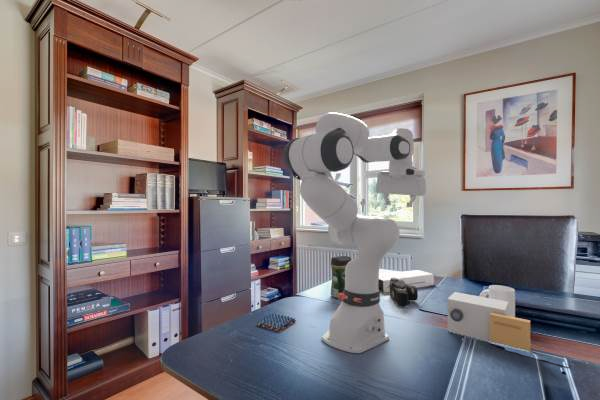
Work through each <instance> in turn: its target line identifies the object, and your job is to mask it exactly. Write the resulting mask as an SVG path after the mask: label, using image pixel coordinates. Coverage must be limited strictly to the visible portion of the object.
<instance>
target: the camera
mask: <svg viewBox="0 0 600 400" xmlns="http://www.w3.org/2000/svg"><path fill="white" fill-rule="evenodd" d="M418 294H419V293H418V288H416V287H415V286H412V285H406V284H405V282H404V281H403V280H402V279H396V278H391V280H390V292H389V297H390V298H391V299H392V300H393V302H394V303H395V305H397V307H399V308H402V309H404V308H407V306H408V305H409V302H413V301H417V300H418V298H419V297H418V296H419V295H418Z"/></svg>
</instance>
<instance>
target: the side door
mask: <svg viewBox="0 0 600 400" xmlns="http://www.w3.org/2000/svg"><path fill="white" fill-rule="evenodd" d="M490 341H491V342H495V343H500V344H504V345H508V346H511V347H515V348H520V349H524V350H528V351H530V352H531V320H529V319H524V318H521V317H520V318H519V317H516V316H515V317H511V316H506V315H502V314H497V313H492V312H491V313H490Z"/></svg>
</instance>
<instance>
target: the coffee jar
mask: <svg viewBox="0 0 600 400" xmlns="http://www.w3.org/2000/svg"><path fill="white" fill-rule="evenodd" d="M330 259H331V260H330V267H331V285H330V287H331V288H330V296H331V297H333V298H334V299H338V295H339V293H342V294H343V291H344V288H345V267H346V265H347V263H348V262H349V261H351V260H352V258H351V256H347V255H341V256H340V255H339V256H333V257H331V258H330Z"/></svg>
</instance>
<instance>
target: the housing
mask: <svg viewBox="0 0 600 400" xmlns="http://www.w3.org/2000/svg"><path fill="white" fill-rule="evenodd" d="M446 300H447V305H446V306H447V307H446V308H447V313H446V314H447V315H446V316H447V317H446V318H447V325H446V327H447V330H446V331H447V332H448V331H449V332H448V333H451V332H453V333H452V334H455V333H457V334H456V335H459V334H461V335H460V336H463V335H465V336H464V337H466V336H470V337H475V338H480V339H483V340H489V341H490V313H491V312H492V313H497V314H502V315H506V316H509V309H508V302H507V301H502V300H496V299H491V298H489V297H480V295H473V294H468V293H462V292H458V291H454V292H453V293H452V294H451V295H449V297H448V298H447V299H446ZM470 337H469V338H470Z"/></svg>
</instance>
